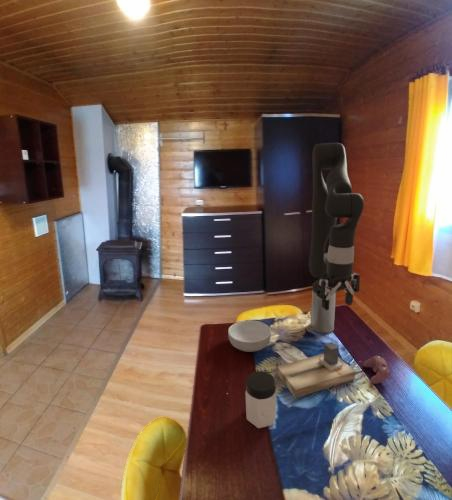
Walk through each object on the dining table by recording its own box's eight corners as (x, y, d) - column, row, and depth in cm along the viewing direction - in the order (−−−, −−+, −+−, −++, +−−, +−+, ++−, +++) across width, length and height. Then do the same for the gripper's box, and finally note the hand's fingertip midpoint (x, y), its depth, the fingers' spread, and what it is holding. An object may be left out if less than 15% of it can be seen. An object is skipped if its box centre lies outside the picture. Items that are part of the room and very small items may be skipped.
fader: (318, 360, 104) (319, 342, 102) (331, 356, 106) (331, 339, 104) (329, 371, 99) (330, 352, 97) (342, 367, 100) (343, 348, 98)
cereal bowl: (280, 347, 118) (280, 331, 116) (246, 364, 109) (245, 347, 107) (252, 330, 132) (252, 315, 130) (220, 343, 123) (219, 328, 121)
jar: (250, 431, 82) (249, 394, 79) (242, 408, 90) (241, 374, 86) (281, 423, 84) (281, 387, 81) (271, 402, 91) (270, 368, 88)
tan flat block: (277, 373, 104) (277, 366, 103) (331, 358, 110) (331, 350, 109) (295, 398, 93) (295, 389, 92) (354, 379, 99) (355, 371, 98)
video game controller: (382, 389, 96) (395, 374, 94) (369, 383, 96) (381, 367, 94) (373, 369, 106) (385, 354, 103) (361, 363, 106) (372, 348, 104)
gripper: (351, 252, 98) (347, 298, 103) (313, 258, 94) (311, 305, 99) (368, 259, 91) (363, 307, 96) (328, 266, 87) (325, 316, 92)
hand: (337, 306), depth 98 cm, fingers open, 8 cm apart
